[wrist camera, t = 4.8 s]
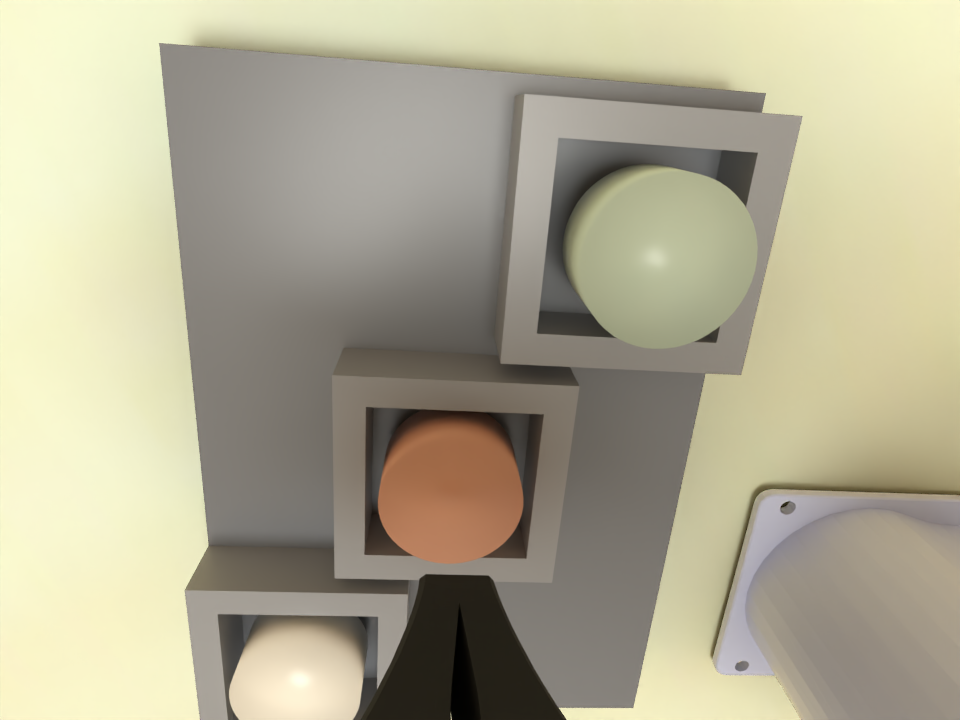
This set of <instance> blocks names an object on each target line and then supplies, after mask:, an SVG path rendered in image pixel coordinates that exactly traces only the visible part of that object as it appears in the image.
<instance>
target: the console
mask: <svg viewBox="0 0 960 720" xmlns="http://www.w3.org/2000/svg"><path fill="white" fill-rule="evenodd" d="M159 45H160V55H161V65H162V76H163V86H164V96H165V106H166V116H167V126H168V136H169V147H170V157H171V167H172V177H173V187H174V197H175V207H176V218H177V228H178V238H179V248H180V258H181V268H182V278H183V289H184V299H185V309H186V319H187V329H188V339H189V349H190V360H191V370H192V380H193V390H194V400H195V410H196V420H197V431H198V441H199V451H200V461H201V471H202V481H203V491H204V502H205V512H206V522H207V532H208V542H209V546H208V548H207V550H206V552H205V554H204V556H203V557H202V559H201V561H200V563H199V565H198V567H197V569H196V570H195V572H194V574H193V576H192V578H191V580H190V582H189V583H188V585H187V587H186V589H185V596H186V605H187V613H188V622H189V630H190V639H191V647H192V655H193V664H194V672H195V681H196V689H197V698H198V706H199V714H200V720H239V719H238V718H237V716H236V715H235V713H234V711H233V710H232V707H231V704H230V699H229V689H230V684H231V681H232V679H233V676H234V673H235V671H236V668H237V665H238V663H239V660H240V657H241V654H242V652H243V649H244V646H245V644H246V641H247V638H248V636H249V633H250V630H251V628H252V625H253V623H254V621H255V619H256V618H257V617H258V615H305V616H357V617H358V618H359V619H360V620H361V622H362V624H363V625H364V627H365V630H366V633H367V637H368V649H367V656H366V663H365V670H364V677H363V684H362V692H361V699H360V705H359V709H358V711H357V714H356V716H355V717H354V719H353V720H361V718H362V716H363V714H364V713H365V711H366V709H367V707H368V706H369V704H370V702H371V700H372V698H373V697H374V695H375V693H376V691H377V689H378V687H379V685H380V683H381V681H382V679H383V677H384V675H385V673H386V671H387V669H388V667H389V665H390V663H391V661H392V659H393V657H394V655H395V652H396V650H397V647H398V645H399V643H400V640H401V638H402V636H403V633H404V631H405V629H406V626H407V623H408V621H409V618H410V615H411V612H412V609H413V606H414V603H415V599H416V595H417V591H418V586H419V579H420V578H421V577H422V576H424V575H425V574H447V575H489V576H490V577H491V578H492V579H493V580H494V583H495V586H496V589H497V592H498V595H499V597H500V600H501V602H502V605H503V607H504V610H505V612H506V614H507V616H508V618H509V621H510V623H511V625H512V627H513V629H514V631H515V633H516V635H517V637H518V639H519V641H520V643H521V645H522V647H523V649H524V650H525V652H526V654H527V656H528V658H529V660H530V662H531V663H532V665H533V667H534V669H535V670H536V672H537V674H538V676H539V677H540V679H541V681H542V682H543V684H544V686H545V687H546V689H547V690H548V692H549V694H550V695H551V697H552V698H553V700H554V702H555V703H556V705H557V706H558V708H633V706H634V702H635V697H636V692H637V688H638V683H639V679H640V674H641V669H642V665H643V660H644V655H645V651H646V646H647V642H648V637H649V632H650V628H651V623H652V618H653V614H654V609H655V605H656V600H657V595H658V591H659V586H660V581H661V577H662V572H663V567H664V563H665V558H666V554H667V549H668V544H669V540H670V535H671V530H672V526H673V521H674V517H675V512H676V507H677V503H678V498H679V493H680V489H681V484H682V480H683V475H684V470H685V466H686V461H687V456H688V452H689V447H690V442H691V438H692V433H693V429H694V424H695V419H696V415H697V410H698V405H699V401H700V396H701V392H702V387H703V382H704V378H705V373H710V374H731V375H741V373H742V369H743V364H744V360H745V356H746V352H747V348H748V343H749V339H750V335H751V331H752V327H753V322H754V318H755V314H756V310H757V306H758V301H759V297H760V293H761V289H762V285H763V280H764V276H765V272H766V268H767V264H768V259H769V255H770V251H771V247H772V243H773V238H774V234H775V230H776V226H777V222H778V217H779V213H780V209H781V205H782V201H783V196H784V192H785V188H786V184H787V180H788V175H789V171H790V167H791V163H792V159H793V154H794V150H795V146H796V142H797V138H798V133H799V129H800V125H801V121H802V117H803V116H794V115H781V114H769V113H762V109H763V104H764V100H765V95H766V93H755V92H743V91H731V90H719V89H706V88H694V87H682V86H670V85H658V84H646V83H634V82H622V81H610V80H598V79H586V78H574V77H562V76H550V75H538V74H526V73H513V72H501V71H489V70H477V69H465V68H453V67H441V66H429V65H417V64H405V63H393V62H381V61H369V60H357V59H345V58H332V57H320V56H308V55H296V54H284V53H272V52H260V51H248V50H236V49H224V48H212V47H200V46H188V45H176V44H164V43H159ZM639 164H657V165H664V166H668V167H672V168H676V169H681V170H685V171H689V172H693V173H697V174H701V175H704V176H707V177H710V178H712V179H714V180H717V181H719V182H720V183H722V184H723V185H725V186H726V187H728V188H729V189H730V190H731V191H732V192H734V193H735V194H736V195H737V196H738V198H739V199H740V200H741V201H742V202H743V204H744V205H745V207H746V209H747V210H748V212H749V214H750V216H751V219H752V221H753V224H754V227H755V231H756V236H757V246H758V250H757V263H756V269H755V273H754V276H753V279H752V282H751V285H750V287H749V289H748V292H747V293H746V295H745V297H744V299H743V300H742V302H741V303H740V305H739V306H738V308H737V309H736V310H735V312H734V313H733V314H732V315H731V316H730V317H729V318H728V319H727V320H726V321H725V322H724V323H723V324H722V325H720V326H719V327H718V328H717V329H715V330H714V331H712V332H711V333H710V334H708V335H706V336H704V337H702V338H701V339H699V340H697V341H694V342H691V343H689V344H686V345H682V346H679V347H674V348H666V349H650V348H642V347H638V346H634V345H631V344H629V343H626V342H624V341H622V340H620V339H618V338H616V337H615V336H613V335H612V334H610V333H609V332H608V331H607V330H605V329H604V328H603V327H602V326H601V325H600V324H599V323H598V321H597V320H596V319H595V317H594V316H593V315H592V313H591V312H590V311H589V309H588V308H587V307H586V305H585V304H584V302H583V301H582V300H581V298H580V297H579V296H578V294H577V293H576V292H575V290H574V289H573V287H572V285H571V283H570V282H569V280H568V277H567V274H566V271H565V267H564V262H563V252H562V250H563V238H564V232H565V228H566V225H567V222H568V219H569V217H570V215H571V213H572V211H573V209H574V207H575V206H576V204H577V203H578V201H579V200H580V198H581V197H582V196H583V195H584V194H585V192H586V191H587V190H588V189H589V188H590V187H591V186H592V185H594V184H595V183H596V182H598V181H599V180H600V179H601V178H603V177H605V176H606V175H608V174H610V173H612V172H614V171H616V170H619V169H621V168H625V167H628V166H632V165H639ZM423 409H426V410H450V411H475V412H485V413H487V414H488V415H490V416H491V417H492V418H494V419H495V420H496V421H497V422H498V423H499V424H500V425H501V426H502V427H503V428H504V429H505V431H506V432H507V434H508V436H509V437H510V440H511V442H512V445H513V449H514V453H515V457H516V462H517V467H518V472H519V476H520V481H521V486H522V490H523V510H522V515H521V518H520V521H519V523H518V525H517V527H516V529H515V531H514V532H513V533H512V535H511V536H510V537H509V538H508V539H507V541H506V542H505V543H504V544H502V545H501V546H500V547H499V548H497V549H496V550H494V551H493V552H491V553H490V554H488V555H486V556H484V557H481V558H478V559H476V560H472V561H468V562H464V563H456V564H444V563H435V562H430V561H426V560H423V559H420V558H418V557H415V556H413V555H411V554H410V553H408V552H406V551H405V550H403V549H402V548H401V547H399V546H398V545H397V544H396V543H395V542H394V541H393V540H392V539H391V538H390V536H389V535H388V534H387V532H386V530H385V529H384V527H383V525H382V522H381V519H380V515H379V511H378V496H379V489H380V483H381V477H382V471H383V465H384V459H385V453H386V449H387V446H388V443H389V441H390V438H391V437H392V435H393V433H394V432H395V431H396V429H397V428H398V427H399V426H400V425H401V424H402V423H403V422H404V421H405V420H406V419H407V418H409V417H410V416H412V415H413V414H415V413H417V412H419V411H421V410H423Z"/></svg>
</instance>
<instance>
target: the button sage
mask: <svg viewBox="0 0 960 720" xmlns="http://www.w3.org/2000/svg"><path fill="white" fill-rule="evenodd" d="M757 250H758V246H757V236H756V231H755V227H754V224H753V221H752V219H751V216H750V214H749V212H748V210H747V209H746V207H745V205H744V204H743V202H742V201H741V200H740V199H739V198H738V196H737V195H736V194H735V193H734V192H732V191H731V190H730V189H729V188H728V187H726V186H725V185H723V184H722V183H720V182H719V181H717V180H714V179H712V178H710V177H707V176H704V175H701V174H697V173H693V172H689V171H685V170H681V169H676V168H672V167H668V166H664V165H657V164H639V165H632V166H628V167H625V168H621V169H619V170H616V171H614V172H612V173H610V174H608V175H606V176H605V177H603V178H601V179H600V180H599V181H598V182H596V183H595V184H594V185H592V186H591V187H590V188H589V189H588V190H587V191H586V192H585V194H584V195H583V196H582V197H581V198H580V200H579V201H578V203H577V204H576V206H575V207H574V209H573V211H572V213H571V215H570V217H569V219H568V222H567V225H566V228H565V232H564V238H563V250H562V252H563V262H564V267H565V271H566V274H567V277H568V280H569V282H570V283H571V285H572V287H573V289H574V290H575V292H576V293H577V294H578V296H579V297H580V298H581V300H582V301H583V302H584V304H585V305H586V307H587V308H588V309H589V311H590V312H591V313H592V315H593V316H594V317H595V319H596V320H597V321H598V323H599V324H600V325H601V326H602V327H603V328H604V329H605V330H607V331H608V332H609V333H610V334H612V335H613V336H615V337H616V338H618V339H620V340H622V341H624V342H626V343H629V344H631V345H634V346H638V347H642V348H650V349H666V348H674V347H679V346H682V345H686V344H689V343H691V342H694V341H697V340H699V339H701V338H702V337H704V336H706V335H708V334H710V333H711V332H712V331H714V330H715V329H717V328H718V327H719V326H720V325H722V324H723V323H724V322H725V321H726V320H727V319H728V318H729V317H730V316H731V315H732V314H733V313H734V312H735V310H736V309H737V308H738V306H739V305H740V303H741V302H742V300H743V299H744V297H745V295H746V293H747V292H748V289H749V287H750V285H751V282H752V279H753V276H754V273H755V269H756V263H757Z"/></svg>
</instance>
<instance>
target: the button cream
mask: <svg viewBox="0 0 960 720" xmlns="http://www.w3.org/2000/svg"><path fill="white" fill-rule="evenodd" d="M367 649H368V637H367V633H366V630H365V627H364V625H363V624H362V622H361V620H360V619H359V618H358V617H357V616H305V615H258V617H257V618H256V619H255V621H254V623H253V625H252V628H251V630H250V633H249V636H248V638H247V641H246V644H245V646H244V649H243V652H242V654H241V657H240V660H239V663H238V665H237V668H236V671H235V673H234V676H233V679H232V681H231V684H230V689H229V699H230V704H231V707H232V710H233V711H234V713H235V715H236V716H237V718H238V719H239V720H353V719H354V717H355V716H356V714H357V711H358V709H359V705H360V699H361V692H362V684H363V677H364V670H365V663H366V656H367Z"/></svg>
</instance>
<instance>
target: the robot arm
mask: <svg viewBox="0 0 960 720" xmlns="http://www.w3.org/2000/svg"><path fill="white" fill-rule="evenodd" d="M789 501H790V502H789ZM785 502H789V503H788V505H787V506H785V507H783V508H780V507H781V506H782V504H784V503H785ZM740 661H741V662H740ZM713 664H714V666H715V668H716V670H717V672H719V673H720V674H723V675H775V676H776V678H777V679H778V681H779V683H780V685H781V686H782V688H783V690H784V691H785V693H786V695H787V696H788V698H789V700H790V701H791V703H792V705H793V707H794V708H795V710H796V712H797V713H798V715H799V717H800V718H801V720H960V495H938V494H908V493H877V492H846V491H816V490H785V489H769V490H765V491H763V492H761V493H760V494H759V495H758V496H757V497H756V499H755V501H754V505H753V509H752V513H751V516H750V520H749V524H748V528H747V531H746V535H745V539H744V543H743V546H742V550H741V554H740V557H739V561H738V565H737V569H736V572H735V576H734V580H733V584H732V587H731V591H730V595H729V599H728V602H727V606H726V610H725V614H724V617H723V621H722V625H721V629H720V632H719V636H718V640H717V644H716V647H715V651H714V655H713ZM451 717H452V720H566V718H565V717H564V715H563V714H562V712H561V711H560V709H559V708H558V706H557V705H556V703H555V702H554V700H553V698H552V697H551V695H550V694H549V692H548V690H547V689H546V687H545V686H544V684H543V682H542V681H541V679H540V677H539V676H538V674H537V672H536V670H535V669H534V667H533V665H532V663H531V662H530V660H529V658H528V656H527V654H526V652H525V650H524V649H523V647H522V645H521V643H520V641H519V639H518V637H517V635H516V633H515V631H514V629H513V627H512V625H511V623H510V621H509V618H508V616H507V614H506V612H505V610H504V607H503V605H502V602H501V600H500V597H499V595H498V592H497V589H496V586H495V583H494V580H493V579H492V578H491V577H490V576H489V575H447V574H425V575H424V576H422V577H421V578H420V579H419V586H418V591H417V595H416V599H415V603H414V606H413V609H412V612H411V615H410V618H409V621H408V623H407V626H406V629H405V631H404V633H403V636H402V638H401V640H400V643H399V645H398V647H397V650H396V652H395V655H394V657H393V659H392V661H391V663H390V665H389V667H388V669H387V671H386V673H385V675H384V677H383V679H382V681H381V683H380V685H379V687H378V689H377V691H376V693H375V695H374V697H373V698H372V700H371V702H370V704H369V706H368V707H367V709H366V711H365V713H364V714H363V716H362V718H361V720H451Z"/></svg>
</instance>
